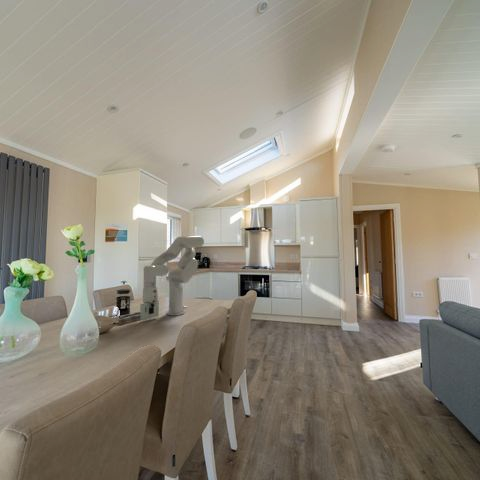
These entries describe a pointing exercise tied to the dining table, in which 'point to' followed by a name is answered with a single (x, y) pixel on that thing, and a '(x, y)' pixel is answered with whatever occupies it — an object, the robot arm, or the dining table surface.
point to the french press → (127, 304)
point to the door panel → (145, 311)
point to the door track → (128, 318)
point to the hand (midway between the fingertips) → (149, 312)
